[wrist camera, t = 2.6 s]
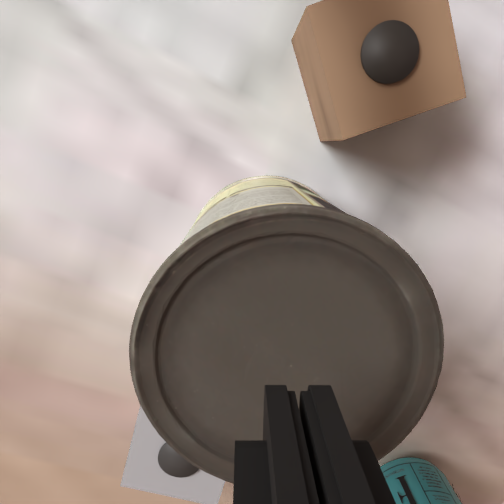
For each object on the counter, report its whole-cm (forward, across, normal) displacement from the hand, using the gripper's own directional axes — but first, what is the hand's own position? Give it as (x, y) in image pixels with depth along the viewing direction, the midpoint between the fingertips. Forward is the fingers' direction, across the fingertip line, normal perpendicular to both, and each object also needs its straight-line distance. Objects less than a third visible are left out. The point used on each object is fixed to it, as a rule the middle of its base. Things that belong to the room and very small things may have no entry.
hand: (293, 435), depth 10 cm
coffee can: (+17, 0, 0) cm, 17 cm away
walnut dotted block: (+17, -5, -11) cm, 21 cm away
